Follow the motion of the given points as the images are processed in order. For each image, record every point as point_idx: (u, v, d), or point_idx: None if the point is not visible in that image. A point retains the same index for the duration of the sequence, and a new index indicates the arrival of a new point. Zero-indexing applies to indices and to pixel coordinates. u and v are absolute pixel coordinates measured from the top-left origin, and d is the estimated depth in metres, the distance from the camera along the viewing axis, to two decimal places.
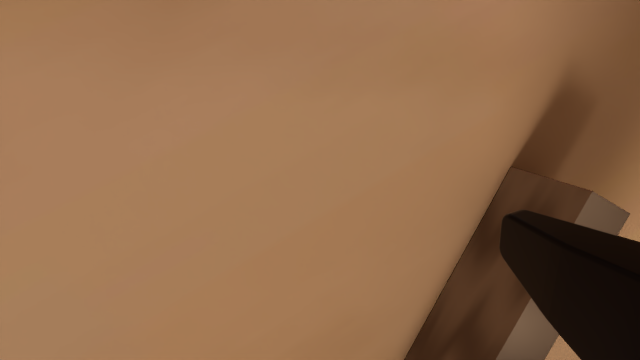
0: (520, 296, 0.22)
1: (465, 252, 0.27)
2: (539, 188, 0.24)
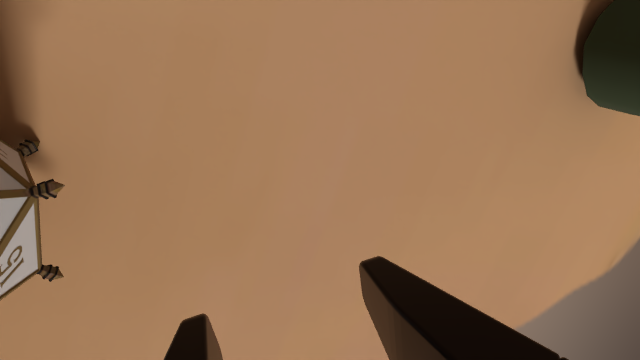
0: None
1: None
2: None
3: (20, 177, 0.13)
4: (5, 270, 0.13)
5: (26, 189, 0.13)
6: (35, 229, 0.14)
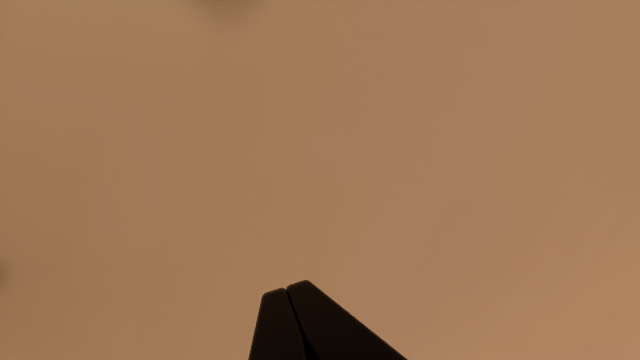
0: None
1: None
2: None
3: None
4: None
5: None
6: None
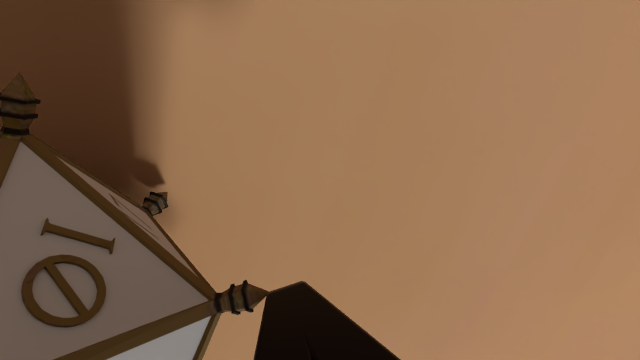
0: None
1: None
2: None
3: (197, 280, 0.07)
4: None
5: (206, 299, 0.08)
6: None
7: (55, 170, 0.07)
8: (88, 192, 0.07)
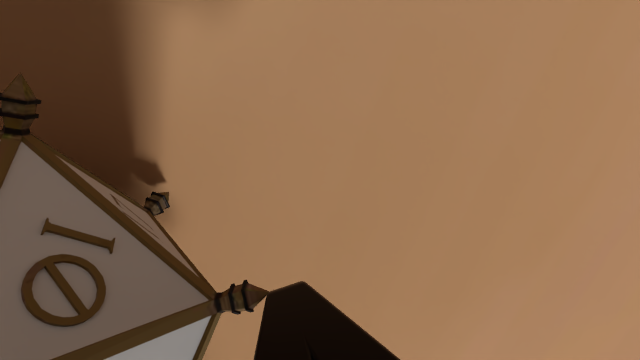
0: None
1: None
2: None
3: (197, 280, 0.07)
4: None
5: (206, 298, 0.08)
6: None
7: (56, 170, 0.07)
8: (88, 192, 0.07)
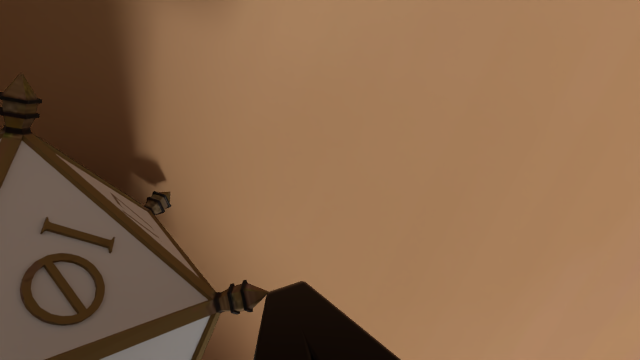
0: None
1: None
2: None
3: (197, 280, 0.07)
4: None
5: (205, 298, 0.08)
6: None
7: (56, 169, 0.07)
8: (88, 191, 0.07)
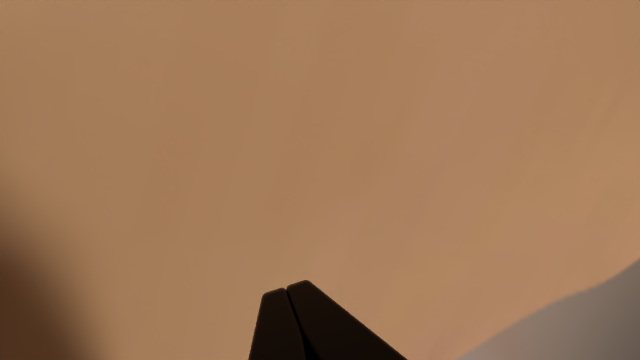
0: None
1: None
2: None
3: None
4: None
5: None
6: None
7: None
8: None
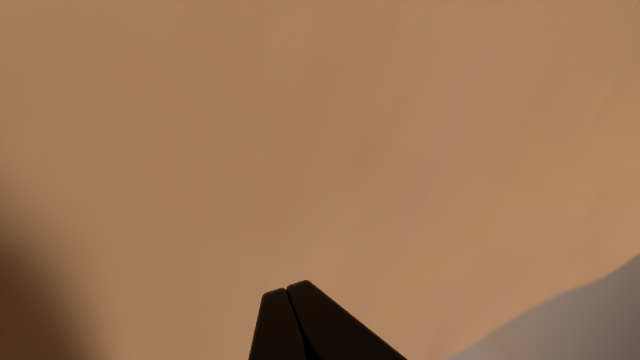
0: None
1: None
2: None
3: None
4: None
5: None
6: None
7: None
8: None
